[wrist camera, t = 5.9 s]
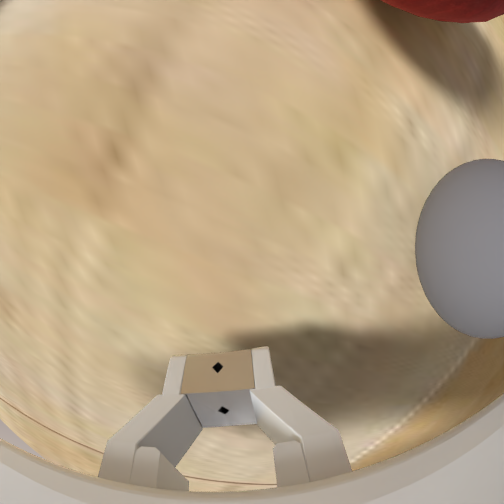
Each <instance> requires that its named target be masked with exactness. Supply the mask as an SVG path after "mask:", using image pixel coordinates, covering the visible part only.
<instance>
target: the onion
mask: <svg viewBox="0 0 504 504" xmlns="http://www.w3.org/2000/svg"><path fill="white" fill-rule="evenodd" d="M381 1H383V2H385V3H387V4H389V5H391V6H393V7H396V8H399V9H401V10H404V11H406V12H409V13H411V14H414V15H416V16H418V17H423V18H429V19H434V20H438V21H445V22H457V23H470V22H486V21H489V20H491V19H493V18H495V17H498V16H500V15H503V14H504V0H381Z"/></svg>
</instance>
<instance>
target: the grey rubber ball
mask: <svg viewBox="0 0 504 504" xmlns="http://www.w3.org/2000/svg"><path fill="white" fill-rule="evenodd" d="M415 255H416V265H417V271H418V275H419V279H420V282H421V285H422V288H423V290H424V292H425V295H426V297H427V299H428V300H429V302H430V304H431V305H432V307H433V308H434V309H435V311H436V312H437V313H438V315H439V316H440V317H441V318H442V319H443V320H444V321H445V322H447V323H448V324H449V325H450V326H451V327H453V328H454V329H456V330H458V331H459V332H461V333H464V334H466V335H469V336H472V337H477V338H491V339H493V338H499V337H504V161H501V160H496V159H479V160H473V161H470V162H467V163H464V164H462V165H460V166H458V167H456V168H454V169H453V170H452V171H450V172H449V173H447V174H446V175H445V176H444V177H443V178H442V179H441V180H440V181H439V182H438V183H437V185H436V186H435V187H434V188H433V190H432V192H431V193H430V195H429V197H428V198H427V200H426V202H425V204H424V207H423V209H422V212H421V215H420V218H419V222H418V226H417V232H416V242H415Z"/></svg>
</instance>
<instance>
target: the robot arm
mask: <svg viewBox="0 0 504 504" xmlns="http://www.w3.org/2000/svg"><path fill="white" fill-rule="evenodd" d="M248 424H257V425H258V426H259V427H260V429H261V430H262V431H263V432H264V433H265V434H266V435H267V436H268V437H269V438H270V440H271V441H272V442H273V443H274V444H275V446H274V448H273V454H274V462H275V470H276V479H277V488H269V489H260V490H248V491H228V492H199V491H189V481H188V480H187V479H186V478H185V477H184V476H183V475H182V474H181V473H180V472H179V471H178V470H177V469H176V468H175V467H176V465H177V464H178V463H179V461H180V460H181V459H182V457H183V456H184V455H185V453H186V452H187V450H188V449H189V448H190V446H191V445H192V443H193V442H194V441H195V439H196V438H197V436H198V435H199V434H200V432H201V431H202V428H205V427H220V426H233V425H248ZM0 504H504V393H503V394H502V395H501V396H499V397H498V398H497V399H496V400H494V401H493V402H492V403H490V404H489V405H487V406H486V407H485V408H483V409H482V410H480V411H479V412H477V413H476V414H474V415H473V416H471V417H470V418H468V419H467V420H465V421H463V422H462V423H460V424H459V425H457V426H455V427H453V428H452V429H450V430H448V431H447V432H445V433H443V434H441V435H439V436H437V437H435V438H434V439H432V440H430V441H428V442H426V443H424V444H422V445H419V446H417V447H415V448H413V449H411V450H409V451H406V452H404V453H402V454H399V455H397V456H395V457H392V458H390V459H387V460H384V461H382V462H379V463H376V464H373V465H371V466H368V467H365V468H362V469H358V470H355V471H352V469H351V466H350V463H349V460H348V457H347V454H346V450H345V447H344V444H343V441H342V438H341V435H340V432H339V430H338V429H337V428H335V427H334V426H333V425H331V424H330V423H329V422H327V421H326V420H325V419H323V418H322V417H321V416H319V415H318V414H317V413H315V412H314V411H313V410H311V409H310V408H309V407H307V406H306V405H305V404H304V403H302V402H301V401H300V400H298V399H297V398H296V397H295V396H293V395H292V394H291V393H290V392H289V391H287V390H286V389H285V388H284V387H282V386H281V385H280V386H276V384H275V378H274V373H273V367H272V362H271V356H270V351H269V347H268V346H265V347H258V348H252V350H251V349H245V350H237V351H229V352H220V353H207V354H188V355H173V356H172V357H171V358H170V361H169V366H168V370H167V374H166V379H165V383H164V388H163V393H162V395H157V396H156V397H155V398H153V399H152V400H151V401H150V402H149V403H148V404H147V405H146V406H145V407H144V408H143V409H142V410H141V411H140V412H138V413H137V414H136V415H135V416H134V417H133V418H132V419H131V420H130V421H129V422H128V423H126V424H125V425H124V426H123V427H122V428H121V429H120V430H119V431H118V432H116V433H115V434H114V435H113V436H112V437H111V438H110V439H109V440H108V441H107V445H106V448H105V452H104V455H103V459H102V463H101V467H100V471H99V475H98V477H96V476H92V475H88V474H85V473H81V472H78V471H75V470H72V469H69V468H66V467H63V466H60V465H58V464H55V463H52V462H50V461H47V460H45V459H42V458H40V457H37V456H35V455H33V454H31V453H28V452H26V451H24V450H22V449H20V448H18V447H16V446H14V445H12V444H10V443H8V442H6V441H4V440H3V439H1V438H0Z"/></svg>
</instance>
